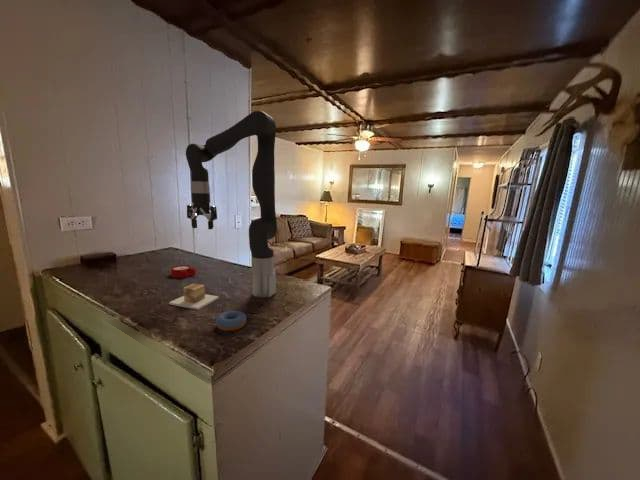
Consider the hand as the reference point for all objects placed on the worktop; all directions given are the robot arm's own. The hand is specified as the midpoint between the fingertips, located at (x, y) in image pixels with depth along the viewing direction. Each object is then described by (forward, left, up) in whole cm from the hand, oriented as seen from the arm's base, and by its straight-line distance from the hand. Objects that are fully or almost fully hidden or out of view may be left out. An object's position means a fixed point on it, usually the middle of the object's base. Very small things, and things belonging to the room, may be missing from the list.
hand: (202, 228), depth 124 cm
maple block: (-8, +15, -27) cm, 32 cm away
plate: (-8, +15, -27) cm, 32 cm away
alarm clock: (+22, -10, -28) cm, 37 cm away
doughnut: (-33, +27, -28) cm, 51 cm away
